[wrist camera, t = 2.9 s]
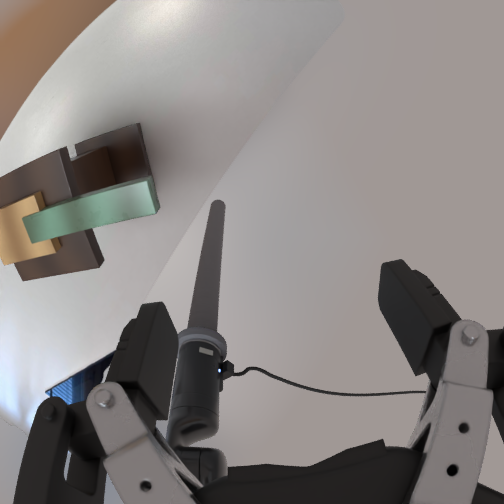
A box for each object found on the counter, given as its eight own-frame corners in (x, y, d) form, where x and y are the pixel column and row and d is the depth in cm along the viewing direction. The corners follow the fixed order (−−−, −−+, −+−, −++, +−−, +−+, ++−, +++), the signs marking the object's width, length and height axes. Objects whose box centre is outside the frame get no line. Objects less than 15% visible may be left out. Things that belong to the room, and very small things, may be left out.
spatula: (147, 156, 21) (142, 160, 20) (165, 224, 24) (161, 232, 23) (-10, 212, 22) (-18, 218, 20) (9, 260, 25) (2, 267, 23)
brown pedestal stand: (139, 122, 41) (58, 149, 20) (156, 191, 47) (99, 268, 26) (78, 143, 41) (-16, 186, 20) (96, 206, 47) (22, 281, 26)
